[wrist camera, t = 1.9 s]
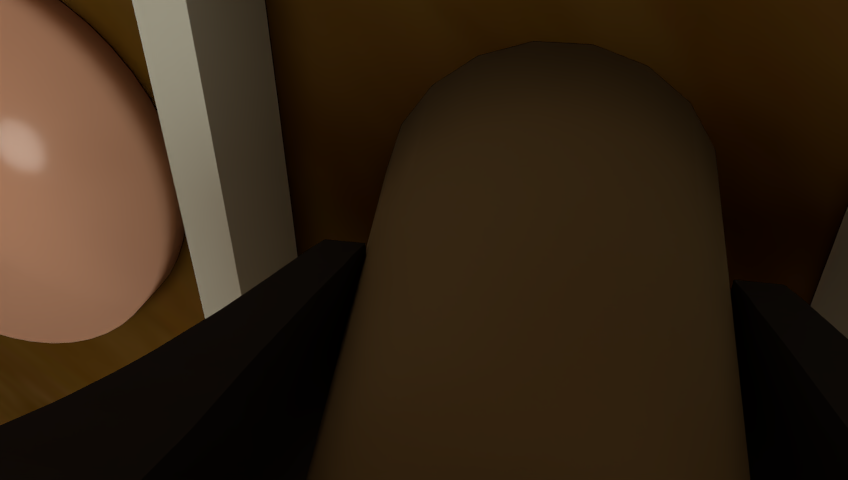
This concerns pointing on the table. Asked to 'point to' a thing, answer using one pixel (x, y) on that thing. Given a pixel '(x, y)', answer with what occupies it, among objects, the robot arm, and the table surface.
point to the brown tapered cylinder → (542, 286)
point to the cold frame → (263, 148)
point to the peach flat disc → (77, 181)
